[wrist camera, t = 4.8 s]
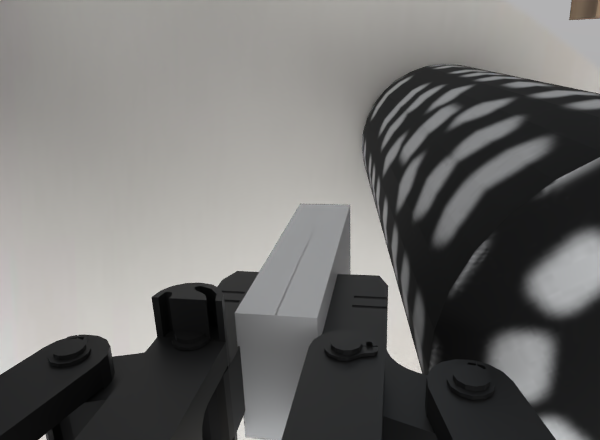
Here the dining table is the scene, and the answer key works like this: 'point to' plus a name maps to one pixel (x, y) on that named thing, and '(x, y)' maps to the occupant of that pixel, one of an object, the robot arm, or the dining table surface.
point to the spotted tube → (496, 229)
